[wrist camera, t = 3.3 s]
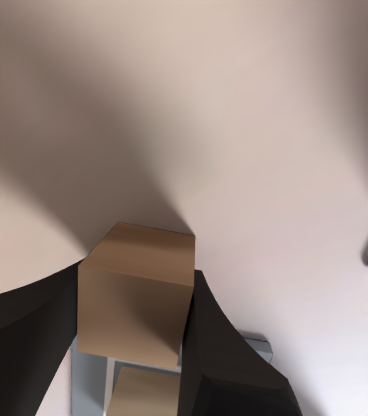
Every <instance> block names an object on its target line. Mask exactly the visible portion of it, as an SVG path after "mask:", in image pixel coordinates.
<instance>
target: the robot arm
mask: <svg viewBox="0 0 368 416" xmlns="http://www.w3.org/2000/svg"><path fill="white" fill-rule="evenodd" d="M84 259H85V258H84ZM84 259H82V260H80V261H79V262H77V263H75V264H73V265H71V266H69V267H67V268H65V269H63V270H61V271H59V272H57V273H54V274H52V275H50V276H48V277H46V278H44V279H41V280H39V281H36V282H34V283H31V284H28V285H26V286H23V287H20V288H17V289H14V290H11V291H8V292H4V293H1V294H0V416H35V415H36V413H37V411H38V408H39V406H40V404H41V402H42V400H43V398H44V396H45V394H46V392H47V390H48V388H49V386H50V384H51V382H52V380H53V378H54V376H55V374H56V372H57V370H58V368H59V366H60V364H61V362H62V360H63V358H64V356H65V354H66V352H67V350H68V348H69V347H70V345H71V343H72V342H73V340H74V338H75V337H76V335H77V312H78V265H79V264H80V263H81V262H82V261H83V260H84ZM177 416H303V415H302V413H301V410H300V407H299V405H298V402H297V399H296V397H295V395H294V392H293V390H292V388H291V386H290V384H289V382H288V379H287V378H286V377H285V376H283V375H282V374H281V373H280V372H279V371H277V370H276V369H275V368H274V367H273V366H271V365H270V364H269V363H268V362H267V361H266V360H265V359H263V358H262V357H261V356H260V355H259V354H258V353H257V352H256V351H255V350H254V349H253V348H252V347H251V346H250V345H249V344H248V343H247V342H246V341H245V339H244V338H243V337H242V336H241V335H240V334H239V333H238V332H237V330H236V329H235V328H234V327H233V325H232V324H231V323H230V321H229V320H228V319H227V317H226V316H225V314H224V313H223V311H222V310H221V308H220V306H219V305H218V303H217V301H216V300H215V298H214V296H213V294H212V292H211V290H210V288H209V286H208V284H207V282H206V280H205V277H204V275H203V272H202V271H201V270H195V269H194V288H193V293H192V297H191V302H190V307H189V311H188V316H187V320H186V325H185V330H184V334H183V339H182V365H181V378H180V388H179V399H178V409H177Z"/></svg>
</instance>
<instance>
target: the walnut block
mask: <svg viewBox="0 0 368 416" xmlns="http://www.w3.org/2000/svg"><path fill="white" fill-rule="evenodd" d="M194 265H195V236H193V235H188V234H182V233H177V232H171V231H165V230H160V229H154V228H149V227H143V226H137V225H132V224H126V223H121V222H118V223H117V224H116V225H115V226H114V227H113V229H112V230H111V231H110V232H109V233H108V234H107V235H106V236H105V237H104V238H103V239H102V241H101V242H100V243H99V244H98V245H97V246H96V247H95V248H94V249H93V250H92V251H91V252H90V254H89V255H88V256H87V257H86V258H85V259H84V260H83V261H82V262H81V263H80V264H79V265H78V312H77V351H78V352H83V353H89V354H94V355H100V356H105V357H111V358H116V359H122V360H127V361H133V362H138V363H144V364H149V365H155V366H160V367H165V368H171V369H176V366H177V362H178V357H179V353H180V348H181V343H182V339H183V334H184V330H185V325H186V320H187V316H188V311H189V307H190V302H191V297H192V293H193V288H194Z"/></svg>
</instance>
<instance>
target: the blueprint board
mask: <svg viewBox="0 0 368 416" xmlns="http://www.w3.org/2000/svg"><path fill="white" fill-rule="evenodd" d="M244 339H245V341H246V342H247V343H248V344H249V345H250V346H251V347H252V348H253V349H254V350H255V351H256V352H257V353H258V354H259V355H260V356H261V357H262V358H263V359H265V360H266V361H267V362H268V363H270V360H271V358H272V355H273V352H272V349H271V346H270V343H269V342H263V341H258V340H252V339H247V338H244ZM181 365H182V343H181V348H180V353H179V357H178V362H177V366H176V369H171V368H165V367H160V366H155V365H149V364H144V363H138V362H133V361H127V360H122V359H116V358H111V357H105V356H100V355H94V354H89V353H83V352H78V351H77V335H76V337H75V338H74V340H73V342H72V416H106V413H107V410H108V407H109V404H110V401H111V398H112V395H113V392H114V389H115V386H116V383H117V379H118V376H119V373H120V370H121V367H122V366H126V367H131V368H137V369H142V370H148V371H153V372H159V373H164V374H169V375H175V376H180V377H181Z"/></svg>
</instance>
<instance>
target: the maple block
mask: <svg viewBox="0 0 368 416" xmlns="http://www.w3.org/2000/svg"><path fill="white" fill-rule="evenodd" d="M180 378H181V377H180V376H175V375H169V374H164V373H159V372H153V371H148V370H142V369H137V368H131V367H126V366H122V367H121V370H120V373H119V376H118V379H117V383H116V386H115V389H114V392H113V395H112V398H111V401H110V404H109V407H108V410H107V413H106V416H177V409H178V399H179V388H180Z"/></svg>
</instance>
